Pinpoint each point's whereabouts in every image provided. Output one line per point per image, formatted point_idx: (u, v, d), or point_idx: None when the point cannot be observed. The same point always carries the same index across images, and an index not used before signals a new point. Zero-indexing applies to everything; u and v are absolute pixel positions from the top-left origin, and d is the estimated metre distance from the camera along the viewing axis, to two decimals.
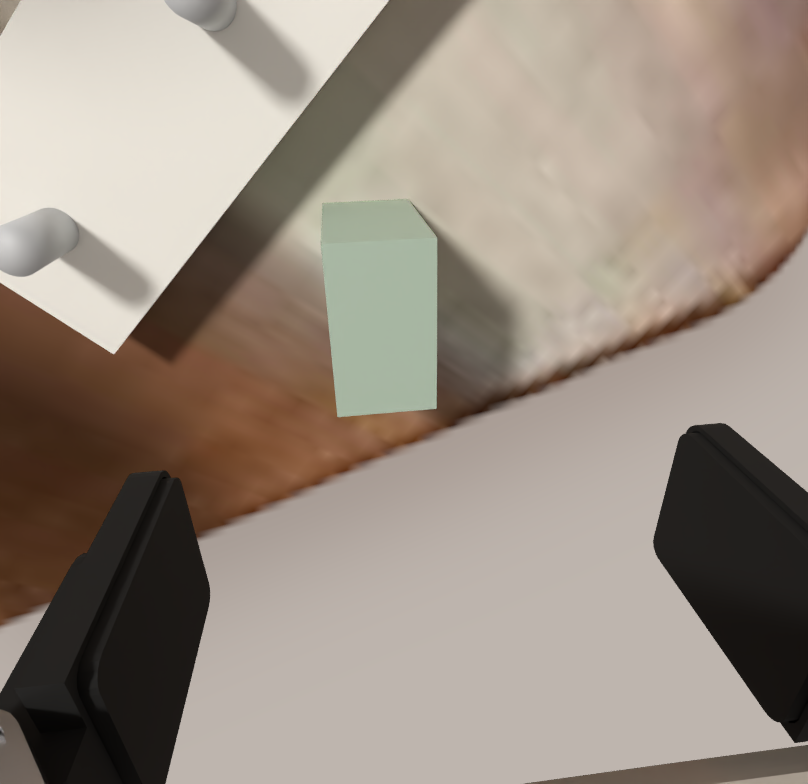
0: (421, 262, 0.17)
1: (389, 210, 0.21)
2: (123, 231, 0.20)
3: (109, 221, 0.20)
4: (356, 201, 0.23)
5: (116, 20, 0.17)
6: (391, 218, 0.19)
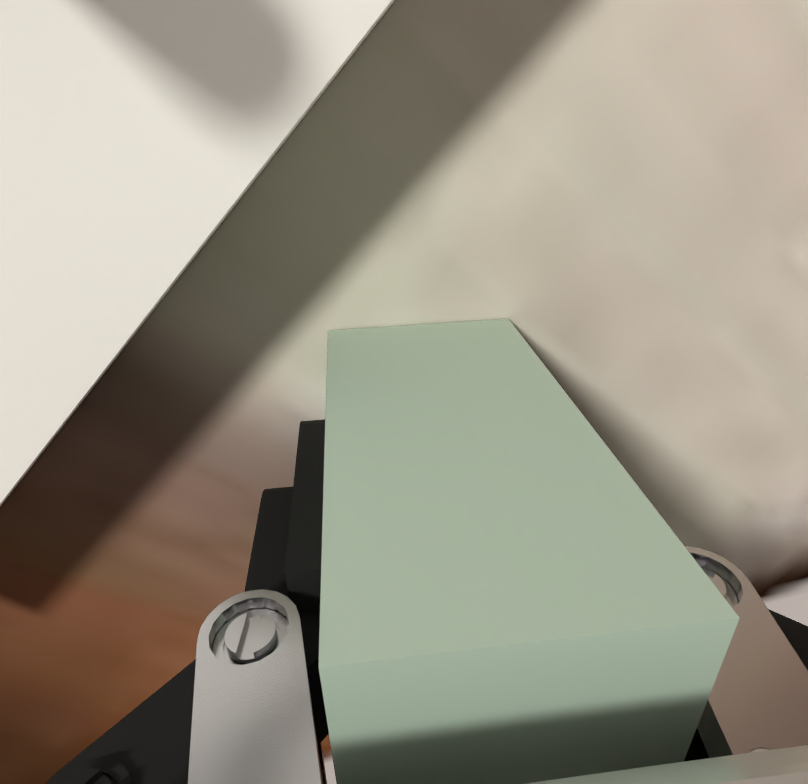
0: (666, 680, 0.05)
1: (487, 375, 0.09)
2: None
3: None
4: None
5: None
6: (508, 425, 0.07)
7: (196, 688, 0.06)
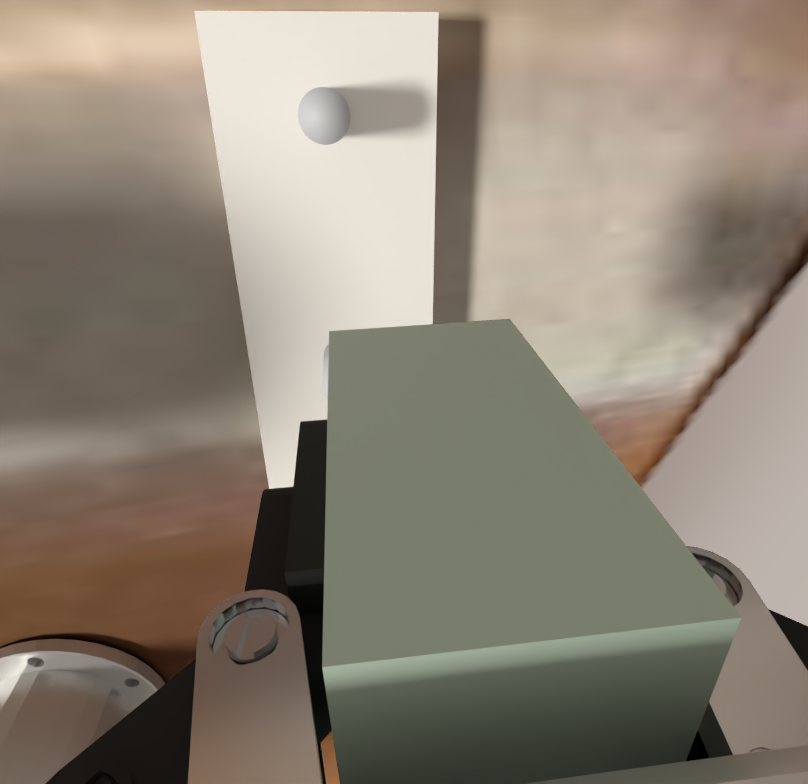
0: (667, 678, 0.05)
1: (488, 375, 0.09)
2: None
3: None
4: (401, 326, 0.11)
5: (306, 405, 0.25)
6: (510, 425, 0.07)
7: (196, 688, 0.06)
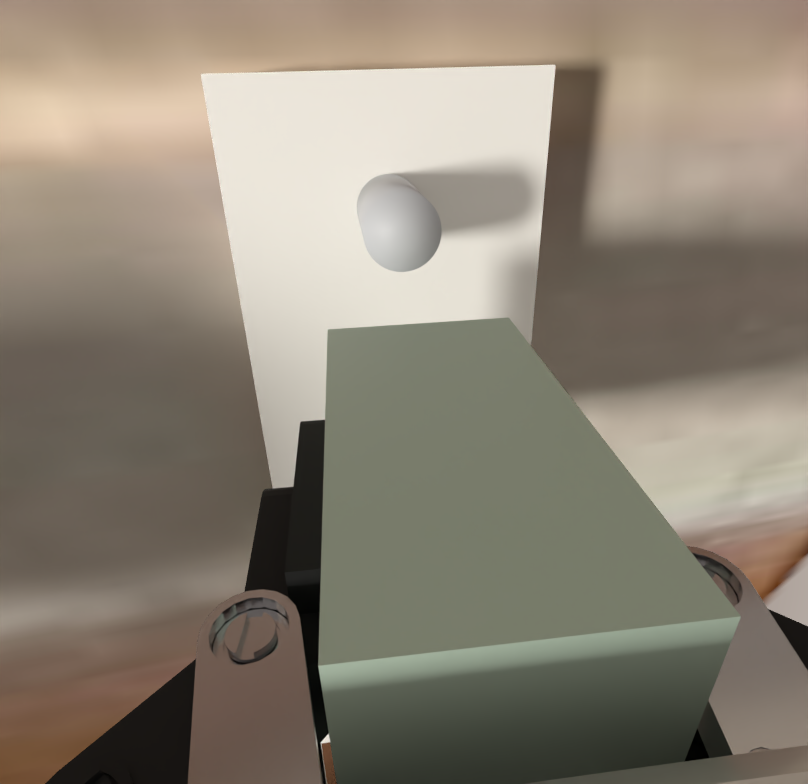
0: (667, 677, 0.05)
1: (487, 373, 0.09)
2: None
3: None
4: None
5: None
6: (509, 424, 0.07)
7: (196, 688, 0.06)
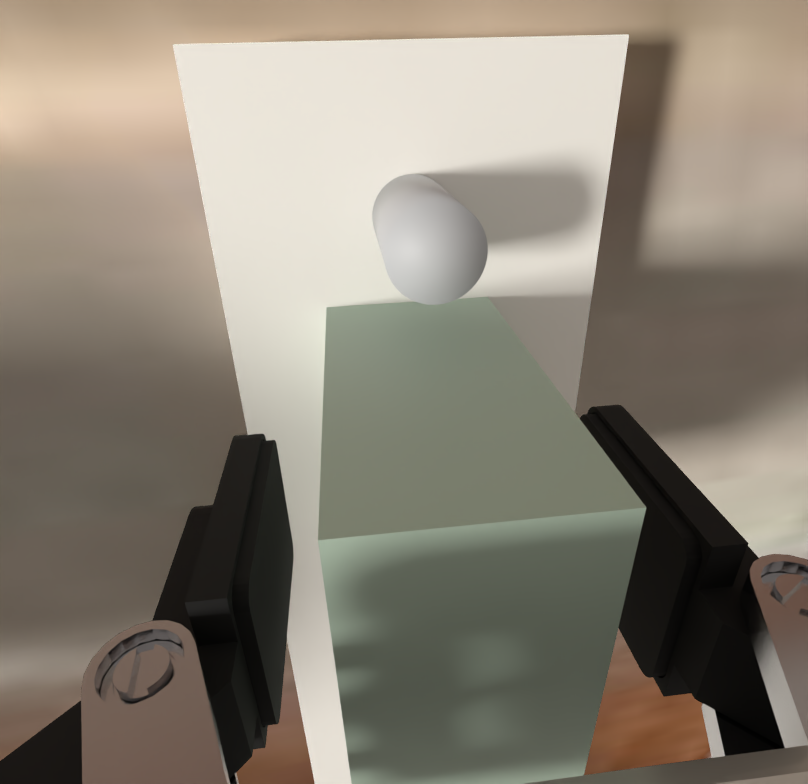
0: (592, 562, 0.06)
1: (464, 341, 0.10)
2: None
3: None
4: (391, 303, 0.12)
5: None
6: (479, 379, 0.09)
7: (84, 738, 0.06)
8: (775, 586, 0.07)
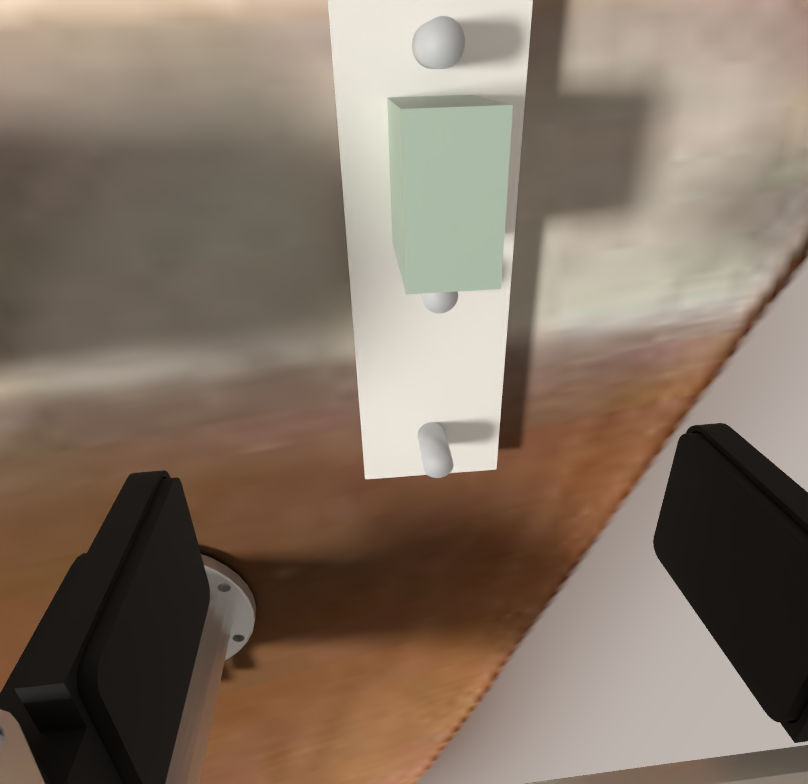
0: (496, 131, 0.17)
1: (456, 98, 0.21)
2: (461, 408, 0.31)
3: (452, 409, 0.31)
4: (419, 96, 0.23)
5: (397, 322, 0.28)
6: (460, 100, 0.20)
7: None
8: None
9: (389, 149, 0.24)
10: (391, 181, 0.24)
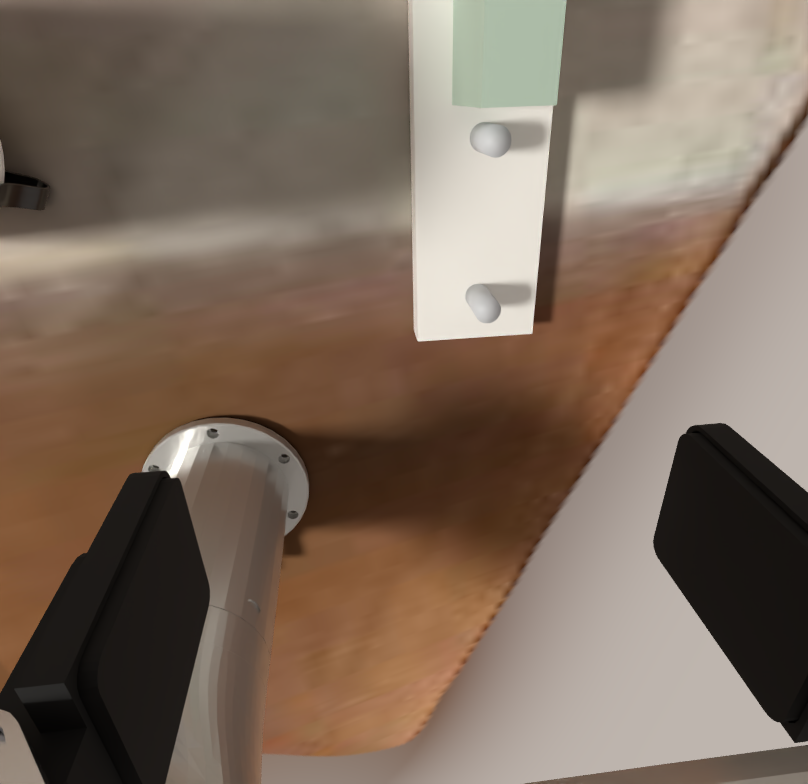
0: None
1: None
2: (504, 270, 0.36)
3: (496, 271, 0.36)
4: None
5: (452, 182, 0.33)
6: None
7: None
8: None
9: (454, 17, 0.29)
10: (456, 43, 0.29)
